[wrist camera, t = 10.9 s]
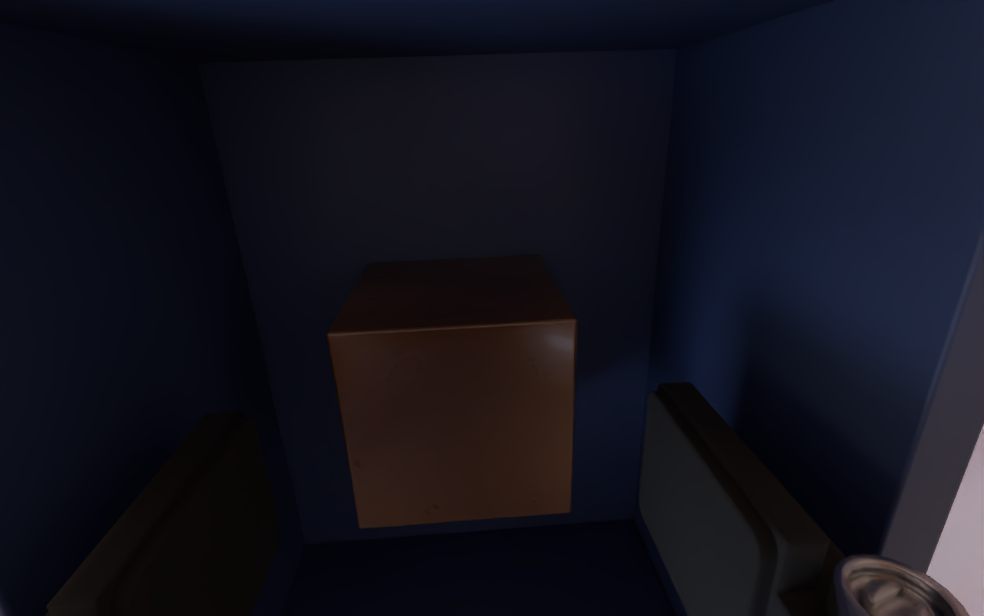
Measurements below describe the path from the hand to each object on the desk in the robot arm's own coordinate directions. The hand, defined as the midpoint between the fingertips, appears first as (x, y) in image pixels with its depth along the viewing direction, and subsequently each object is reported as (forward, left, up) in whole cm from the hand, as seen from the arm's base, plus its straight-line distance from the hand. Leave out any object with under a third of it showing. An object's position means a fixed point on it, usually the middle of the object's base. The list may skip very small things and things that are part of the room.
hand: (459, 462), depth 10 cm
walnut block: (0, 0, -6) cm, 6 cm away
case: (0, 0, -7) cm, 7 cm away
